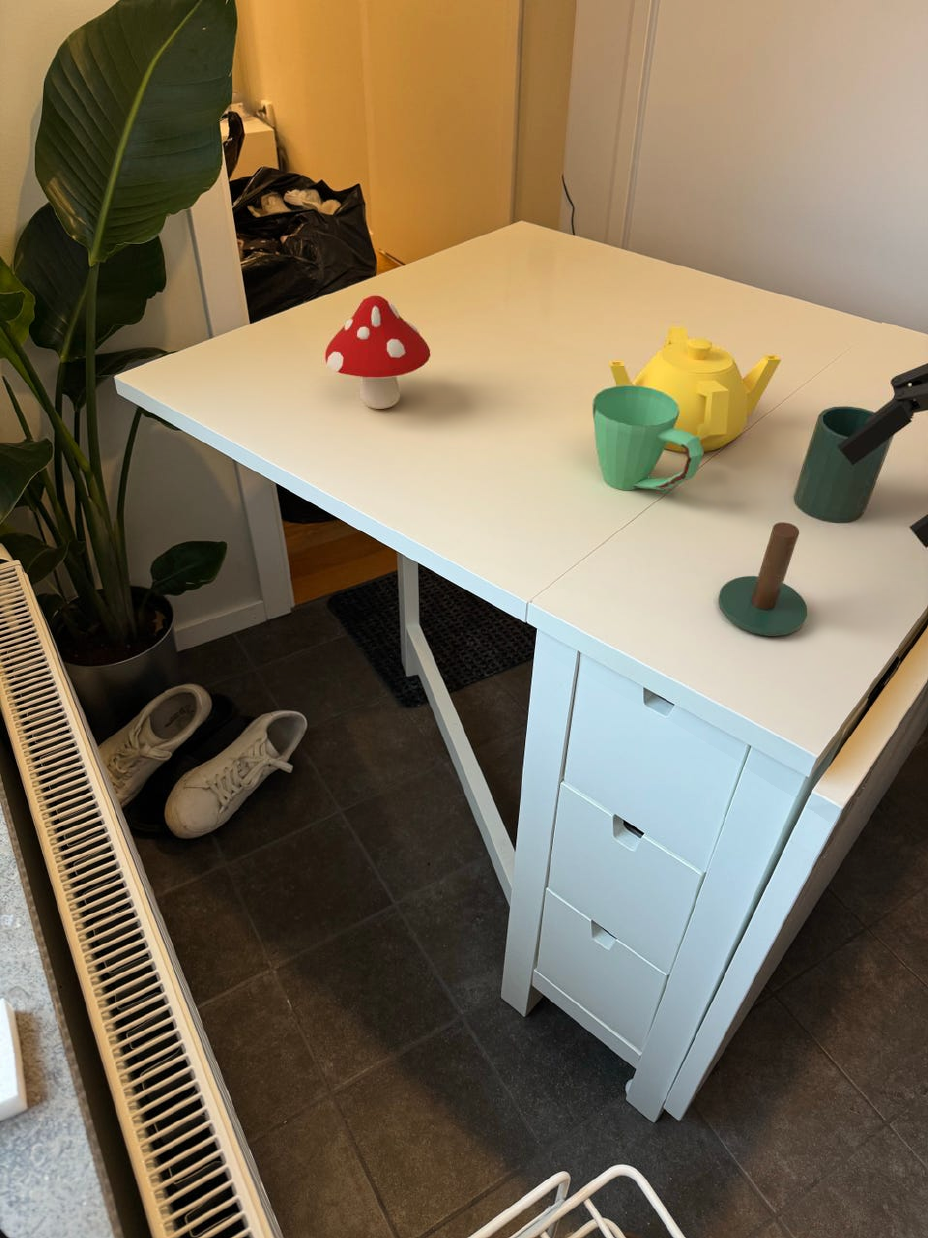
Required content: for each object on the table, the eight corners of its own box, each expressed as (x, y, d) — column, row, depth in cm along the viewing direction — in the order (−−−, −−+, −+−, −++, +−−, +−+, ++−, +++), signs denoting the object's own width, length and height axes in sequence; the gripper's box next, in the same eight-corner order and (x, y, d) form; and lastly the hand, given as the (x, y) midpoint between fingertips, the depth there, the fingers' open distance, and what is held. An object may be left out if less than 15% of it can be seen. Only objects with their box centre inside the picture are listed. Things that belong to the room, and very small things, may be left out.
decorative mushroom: (356, 440, 114) (347, 327, 104) (310, 396, 123) (298, 288, 113) (449, 413, 120) (450, 303, 110) (399, 373, 128) (396, 267, 119)
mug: (566, 476, 108) (575, 401, 102) (620, 449, 113) (632, 376, 107) (659, 530, 100) (675, 453, 94) (713, 500, 105) (732, 424, 99)
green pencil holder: (879, 511, 104) (910, 431, 97) (829, 530, 101) (858, 449, 94) (827, 478, 109) (854, 400, 102) (779, 495, 106) (803, 415, 99)
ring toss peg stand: (822, 623, 89) (854, 540, 82) (758, 651, 86) (785, 567, 79) (762, 575, 94) (787, 494, 88) (699, 600, 91) (720, 518, 85)
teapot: (659, 386, 127) (673, 303, 119) (769, 424, 119) (792, 338, 111) (596, 431, 117) (607, 344, 109) (711, 476, 109) (732, 385, 101)
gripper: (1231, 431, 67) (970, 600, 75) (1027, 301, 86) (835, 448, 94) (1209, 369, 63) (936, 555, 71) (1000, 246, 81) (801, 405, 90)
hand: (878, 494), depth 82 cm, fingers open, 13 cm apart
